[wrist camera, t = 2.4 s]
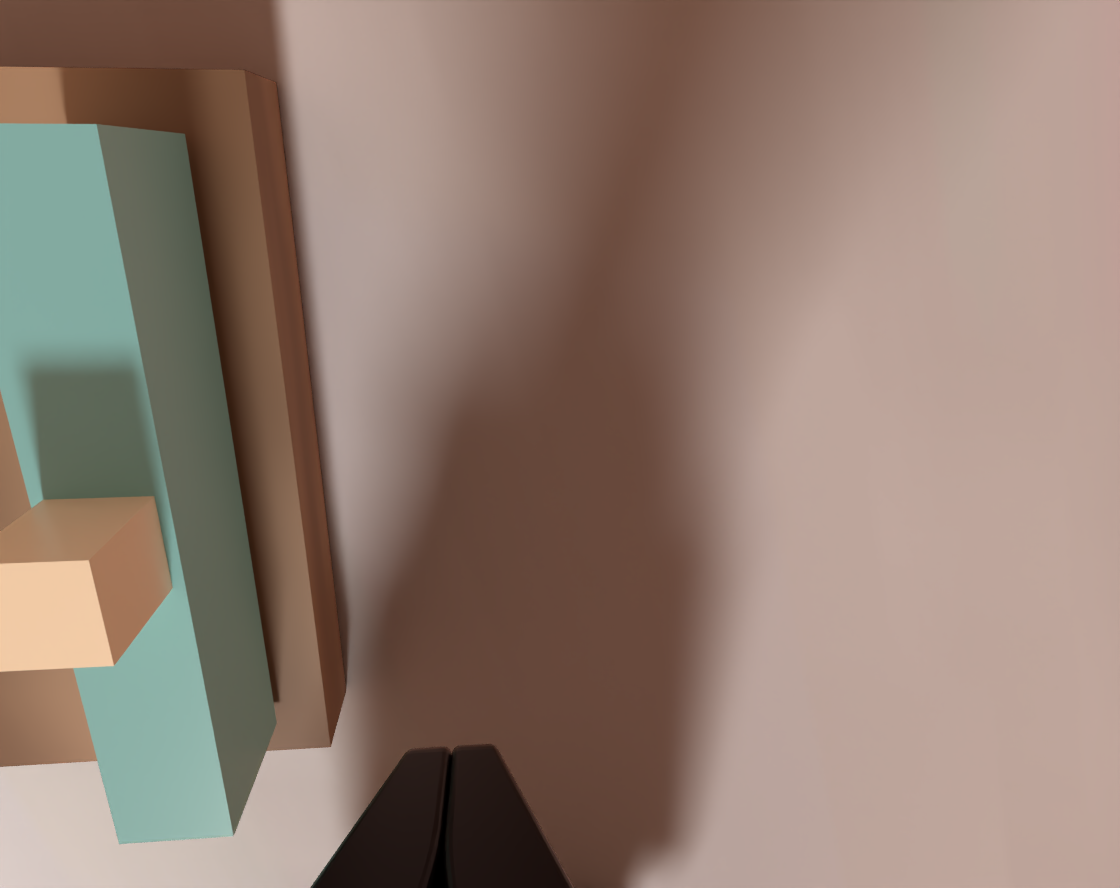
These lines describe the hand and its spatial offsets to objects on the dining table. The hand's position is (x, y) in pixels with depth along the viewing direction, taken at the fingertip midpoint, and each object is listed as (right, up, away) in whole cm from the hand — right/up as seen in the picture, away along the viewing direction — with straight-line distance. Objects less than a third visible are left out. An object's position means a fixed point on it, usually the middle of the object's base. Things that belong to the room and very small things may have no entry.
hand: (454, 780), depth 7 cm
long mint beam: (-6, +3, +7) cm, 10 cm away
